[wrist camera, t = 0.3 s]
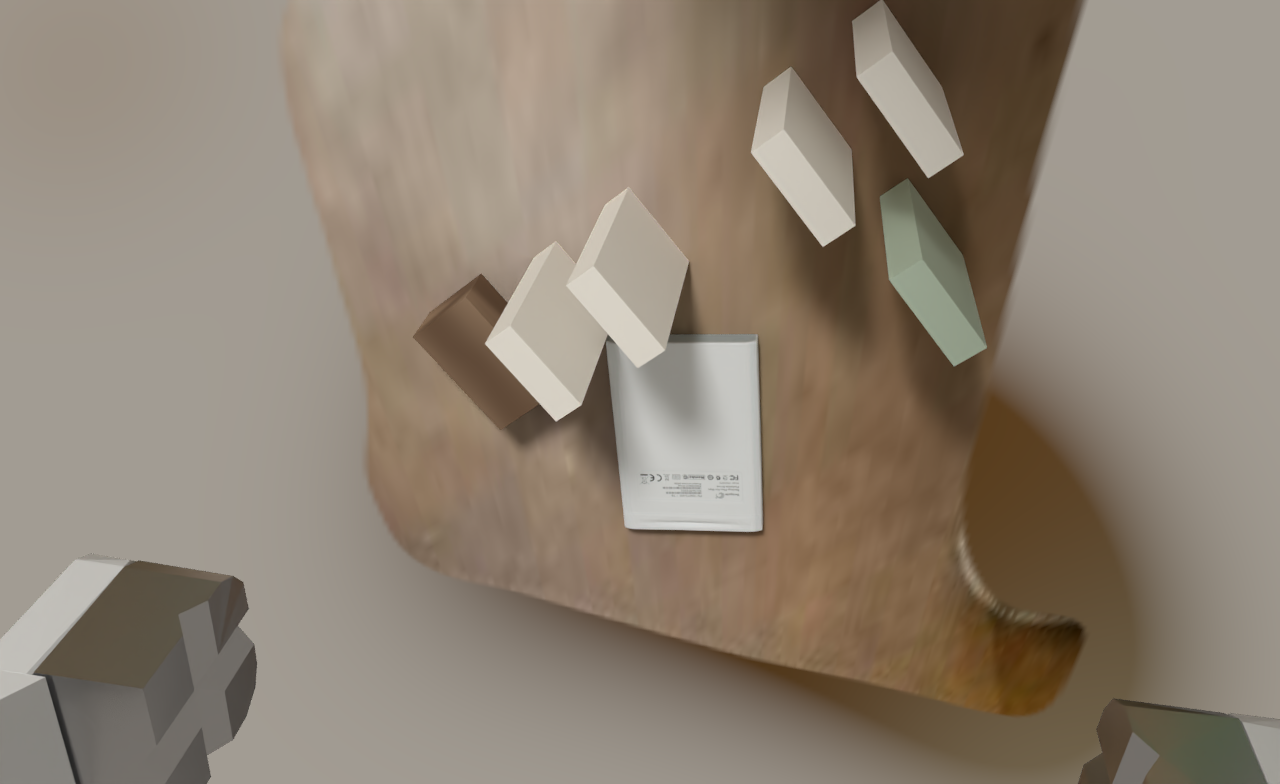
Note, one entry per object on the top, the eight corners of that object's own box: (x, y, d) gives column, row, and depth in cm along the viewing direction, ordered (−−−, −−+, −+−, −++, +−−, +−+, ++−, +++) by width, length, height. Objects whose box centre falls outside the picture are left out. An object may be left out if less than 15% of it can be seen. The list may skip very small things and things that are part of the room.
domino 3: (791, 66, 53) (783, 129, 45) (851, 149, 55) (855, 225, 46) (763, 86, 54) (750, 152, 45) (824, 168, 55) (823, 247, 47)
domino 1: (556, 240, 59) (510, 325, 51) (616, 311, 61) (581, 404, 52) (534, 257, 60) (484, 343, 51) (594, 326, 62) (555, 421, 53)
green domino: (907, 178, 55) (922, 259, 46) (963, 255, 57) (987, 347, 48) (879, 196, 56) (889, 279, 47) (935, 272, 57) (954, 366, 49)
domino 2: (628, 187, 57) (593, 265, 49) (689, 261, 59) (665, 350, 50) (605, 204, 58) (566, 285, 49) (665, 277, 60) (637, 368, 51)
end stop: (481, 273, 61) (465, 297, 58) (565, 367, 63) (553, 394, 61) (430, 312, 63) (412, 337, 60) (513, 402, 65) (500, 430, 62)
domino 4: (882, -2, 51) (892, 51, 43) (942, 87, 53) (963, 154, 44) (852, 20, 52) (856, 76, 43) (912, 107, 53) (928, 178, 45)
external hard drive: (758, 329, 61) (764, 517, 67) (609, 329, 62) (627, 514, 68) (757, 342, 60) (762, 534, 66) (604, 343, 61) (623, 530, 67)
